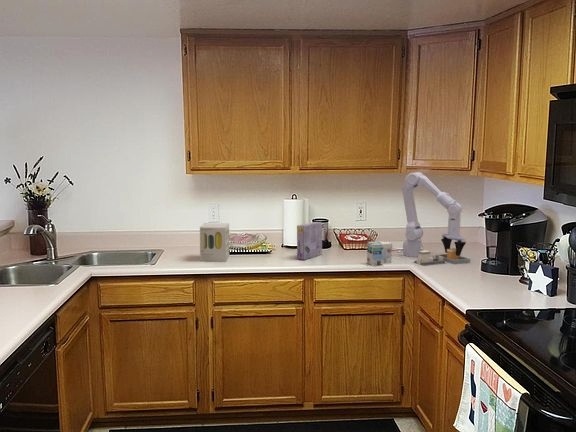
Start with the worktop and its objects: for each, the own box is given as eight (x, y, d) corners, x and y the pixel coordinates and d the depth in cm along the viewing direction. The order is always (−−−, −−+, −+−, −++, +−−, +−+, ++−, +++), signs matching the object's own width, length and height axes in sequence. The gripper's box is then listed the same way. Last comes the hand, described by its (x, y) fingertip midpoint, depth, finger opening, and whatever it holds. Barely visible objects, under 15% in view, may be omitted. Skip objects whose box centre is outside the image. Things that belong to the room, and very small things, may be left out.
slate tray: (435, 260, 283) (435, 254, 283) (450, 258, 287) (451, 253, 287) (453, 266, 270) (454, 260, 270) (470, 264, 274) (470, 258, 274)
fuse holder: (412, 264, 274) (412, 257, 274) (435, 261, 280) (435, 254, 279) (423, 268, 266) (424, 260, 266) (447, 265, 272) (447, 258, 271)
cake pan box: (315, 253, 299) (316, 220, 296) (323, 254, 296) (324, 221, 294) (295, 259, 283) (296, 225, 281) (304, 260, 280) (304, 226, 278)
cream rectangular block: (417, 263, 272) (418, 251, 271) (425, 262, 274) (426, 250, 273) (421, 264, 269) (422, 252, 268) (429, 263, 271) (430, 251, 270)
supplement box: (199, 261, 277) (199, 226, 275) (204, 256, 290) (203, 222, 288) (226, 262, 277) (225, 227, 274) (229, 256, 290) (229, 223, 287)
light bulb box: (371, 266, 269) (372, 244, 268) (366, 263, 276) (366, 241, 274) (392, 265, 272) (392, 243, 271) (386, 262, 279) (386, 240, 277)
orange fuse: (446, 260, 279) (447, 248, 278) (453, 259, 281) (454, 248, 280) (450, 261, 276) (451, 250, 275) (457, 261, 278) (458, 249, 277)
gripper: (437, 225, 281) (436, 252, 283) (458, 229, 268) (457, 257, 270) (448, 224, 284) (447, 250, 286) (469, 228, 271) (468, 256, 273)
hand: (452, 254), depth 278 cm, fingers open, 7 cm apart
